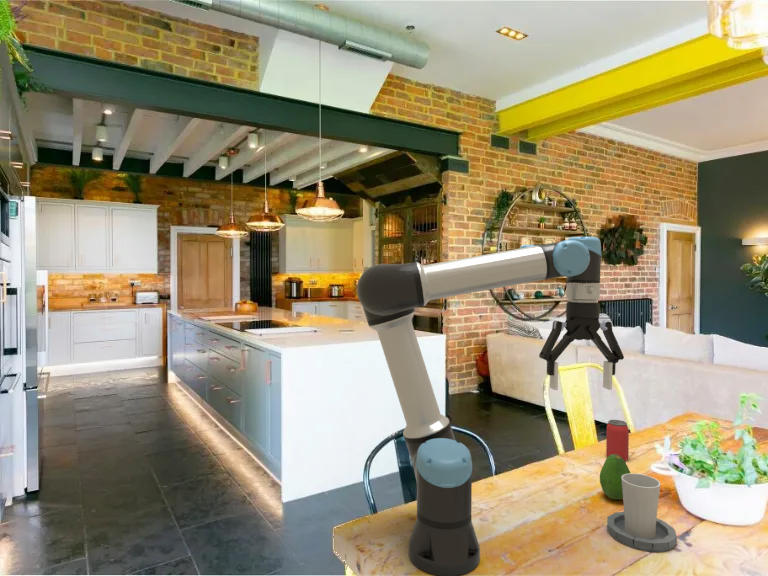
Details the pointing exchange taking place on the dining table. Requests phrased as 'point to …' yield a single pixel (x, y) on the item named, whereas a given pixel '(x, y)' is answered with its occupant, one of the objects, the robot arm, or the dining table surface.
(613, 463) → the fruit
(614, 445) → the beer can
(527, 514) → the dining table surface
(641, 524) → the cup
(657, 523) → the saucer
